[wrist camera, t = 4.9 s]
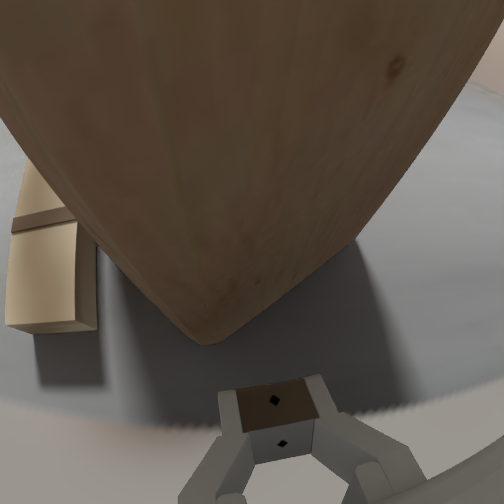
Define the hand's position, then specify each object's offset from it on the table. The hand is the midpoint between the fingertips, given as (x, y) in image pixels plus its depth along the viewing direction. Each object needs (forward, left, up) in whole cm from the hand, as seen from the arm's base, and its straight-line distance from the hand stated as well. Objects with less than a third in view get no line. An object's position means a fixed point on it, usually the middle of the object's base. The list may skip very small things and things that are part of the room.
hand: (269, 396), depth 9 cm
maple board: (+9, -14, -5) cm, 17 cm away
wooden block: (0, -9, -5) cm, 10 cm away
